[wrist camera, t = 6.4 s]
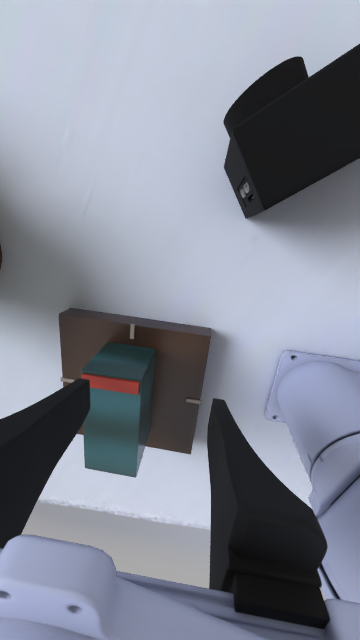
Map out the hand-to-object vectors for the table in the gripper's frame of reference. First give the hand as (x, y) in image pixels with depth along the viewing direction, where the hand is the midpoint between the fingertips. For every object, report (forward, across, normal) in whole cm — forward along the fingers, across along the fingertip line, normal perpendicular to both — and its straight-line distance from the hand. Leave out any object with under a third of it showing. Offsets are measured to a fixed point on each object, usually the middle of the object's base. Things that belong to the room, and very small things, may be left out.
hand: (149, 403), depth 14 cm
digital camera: (+10, -8, -16) cm, 21 cm away
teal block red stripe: (+8, +3, +6) cm, 11 cm away
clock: (+10, +3, +6) cm, 12 cm away
